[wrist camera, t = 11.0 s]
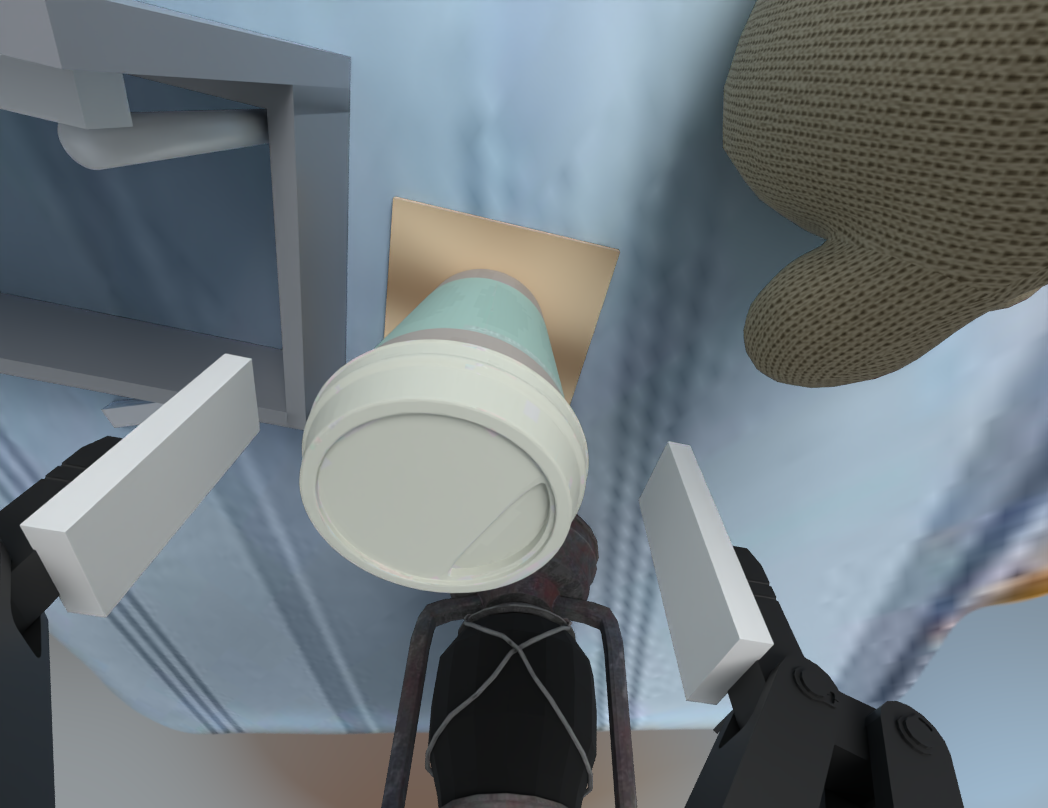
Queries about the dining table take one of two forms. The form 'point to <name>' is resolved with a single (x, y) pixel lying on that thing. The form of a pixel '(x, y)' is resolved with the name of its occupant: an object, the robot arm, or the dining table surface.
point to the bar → (130, 412)
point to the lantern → (517, 693)
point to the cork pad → (525, 254)
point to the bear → (891, 173)
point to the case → (139, 137)
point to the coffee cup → (448, 444)
